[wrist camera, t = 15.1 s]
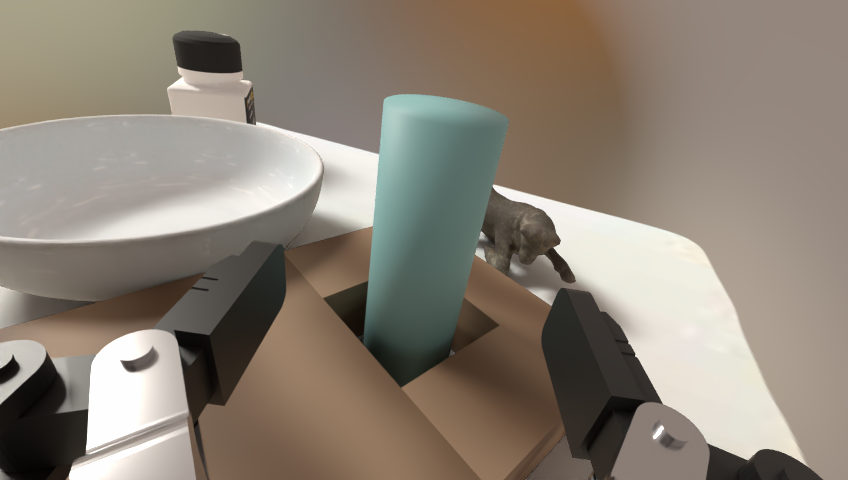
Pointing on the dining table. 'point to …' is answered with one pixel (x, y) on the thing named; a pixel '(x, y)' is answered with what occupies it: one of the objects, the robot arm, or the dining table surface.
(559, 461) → the dining table surface
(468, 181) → the pin
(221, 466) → the socket board
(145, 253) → the serving bowl
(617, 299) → the dining table surface
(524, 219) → the dog figurine
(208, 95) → the medicine bottle
